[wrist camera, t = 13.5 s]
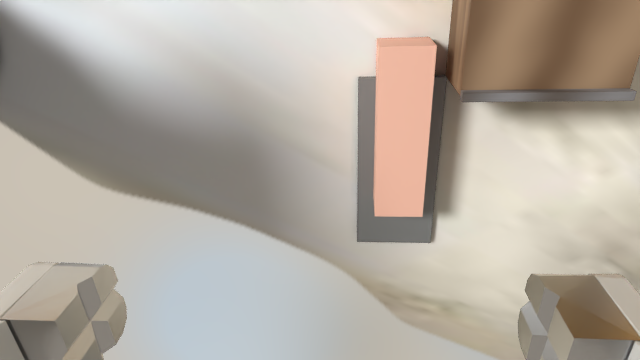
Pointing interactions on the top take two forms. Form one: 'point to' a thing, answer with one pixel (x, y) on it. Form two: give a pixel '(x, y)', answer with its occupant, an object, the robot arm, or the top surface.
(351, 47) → the top surface
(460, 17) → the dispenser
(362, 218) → the mat
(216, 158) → the top surface
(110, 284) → the robot arm
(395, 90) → the pink rectangular block
